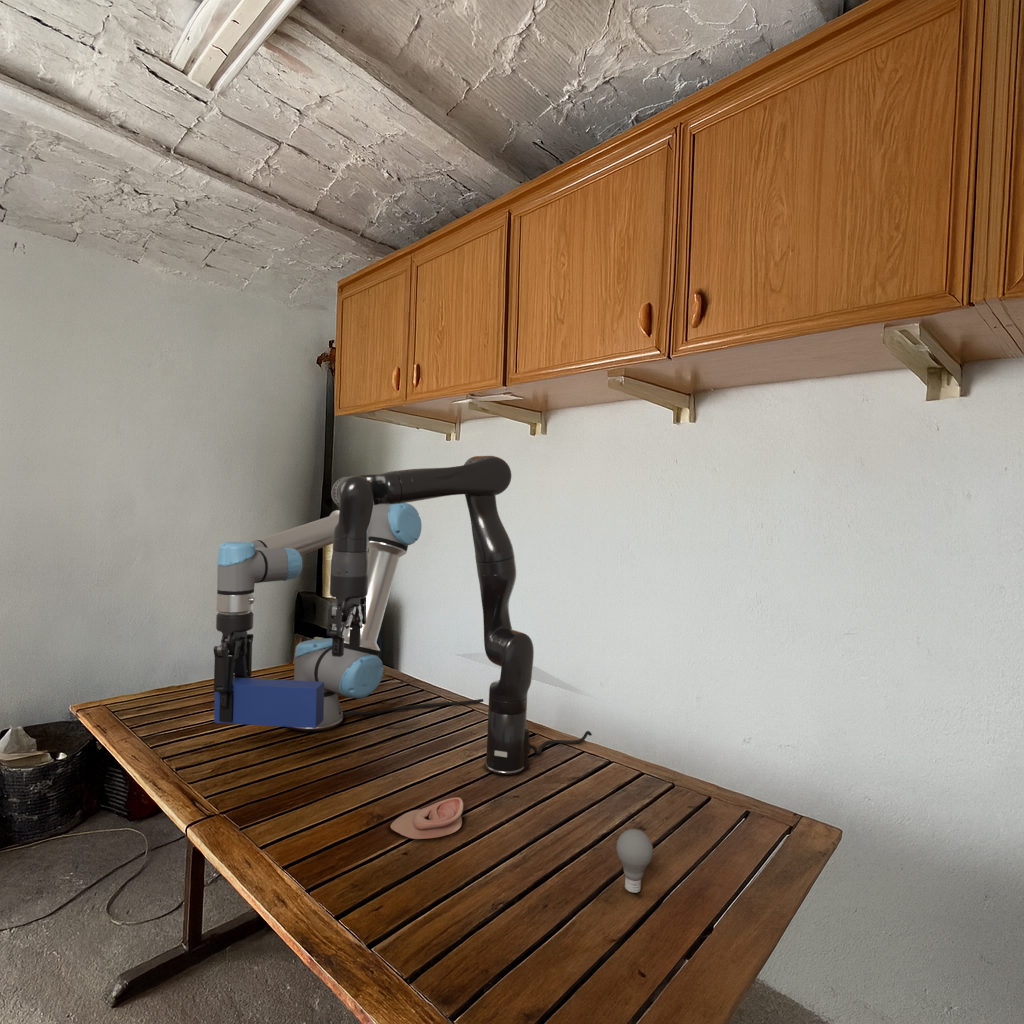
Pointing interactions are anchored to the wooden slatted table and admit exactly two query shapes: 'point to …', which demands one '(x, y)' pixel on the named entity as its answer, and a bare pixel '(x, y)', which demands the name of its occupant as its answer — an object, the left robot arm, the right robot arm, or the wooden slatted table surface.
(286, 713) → the bar
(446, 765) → the wooden slatted table surface
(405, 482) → the right robot arm
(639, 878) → the light bulb
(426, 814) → the anatomical model
